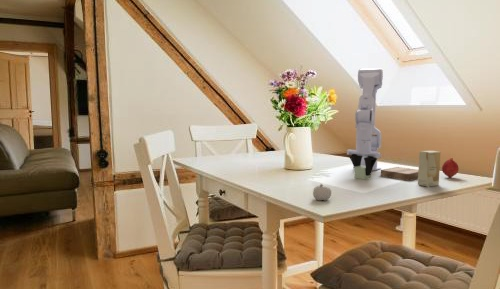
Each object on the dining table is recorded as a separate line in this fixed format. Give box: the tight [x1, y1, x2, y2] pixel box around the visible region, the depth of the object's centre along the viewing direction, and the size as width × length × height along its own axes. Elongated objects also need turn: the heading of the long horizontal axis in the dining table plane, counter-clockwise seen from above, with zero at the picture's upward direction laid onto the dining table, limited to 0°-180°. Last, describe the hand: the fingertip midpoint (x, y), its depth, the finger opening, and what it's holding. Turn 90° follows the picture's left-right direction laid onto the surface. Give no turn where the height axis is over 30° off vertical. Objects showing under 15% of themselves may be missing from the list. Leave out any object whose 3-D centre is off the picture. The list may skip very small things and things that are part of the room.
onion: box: [441, 157, 460, 179], centre depth 154 cm, size 6×6×8 cm
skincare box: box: [417, 150, 442, 188], centre depth 140 cm, size 6×4×12 cm
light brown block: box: [380, 166, 419, 181], centre depth 158 cm, size 12×12×2 cm
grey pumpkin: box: [312, 183, 332, 201], centre depth 120 cm, size 6×5×5 cm
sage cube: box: [354, 166, 372, 180], centre depth 155 cm, size 4×4×4 cm
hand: (362, 174), depth 155 cm, fingers closed on sage cube, 4 cm apart
